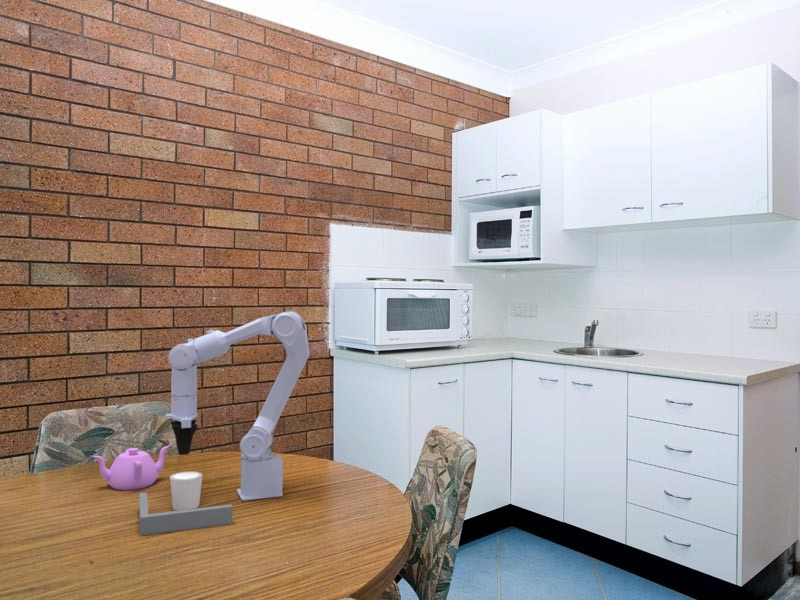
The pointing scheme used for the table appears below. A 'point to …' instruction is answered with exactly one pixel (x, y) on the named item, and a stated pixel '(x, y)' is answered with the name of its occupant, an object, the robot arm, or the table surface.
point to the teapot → (132, 469)
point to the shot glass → (185, 490)
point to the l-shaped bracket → (181, 518)
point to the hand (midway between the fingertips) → (183, 452)
